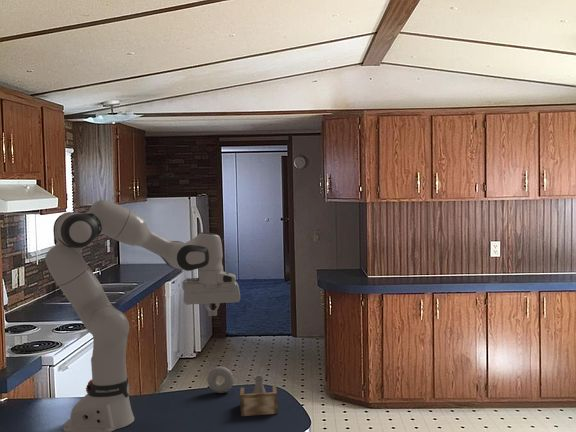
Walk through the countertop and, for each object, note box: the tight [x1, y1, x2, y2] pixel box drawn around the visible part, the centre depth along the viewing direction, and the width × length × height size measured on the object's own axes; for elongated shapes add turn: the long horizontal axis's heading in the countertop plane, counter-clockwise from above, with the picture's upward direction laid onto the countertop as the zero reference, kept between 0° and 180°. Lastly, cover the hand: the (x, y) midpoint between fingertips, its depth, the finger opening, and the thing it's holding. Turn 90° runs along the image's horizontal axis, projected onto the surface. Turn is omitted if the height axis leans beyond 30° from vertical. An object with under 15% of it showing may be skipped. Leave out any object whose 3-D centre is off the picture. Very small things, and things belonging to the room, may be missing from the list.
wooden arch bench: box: [239, 384, 279, 417], centre depth 215 cm, size 12×11×7 cm
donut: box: [206, 365, 235, 394], centre depth 233 cm, size 10×3×10 cm, turn 85°
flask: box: [253, 374, 267, 393], centre depth 219 cm, size 7×7×10 cm
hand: (212, 315), depth 225 cm, fingers closed
